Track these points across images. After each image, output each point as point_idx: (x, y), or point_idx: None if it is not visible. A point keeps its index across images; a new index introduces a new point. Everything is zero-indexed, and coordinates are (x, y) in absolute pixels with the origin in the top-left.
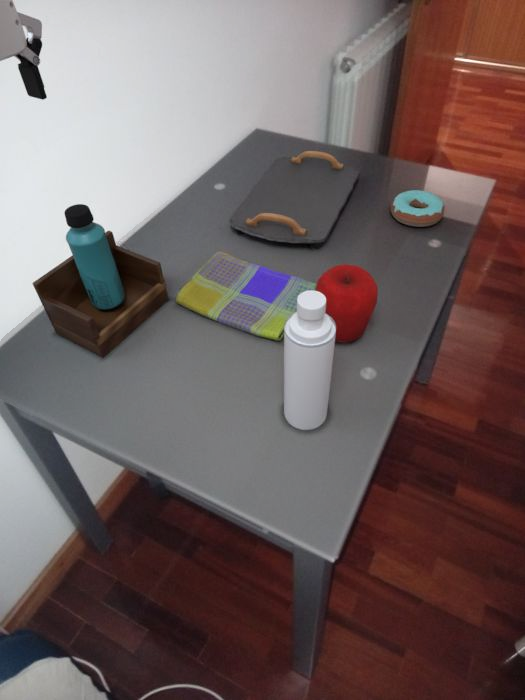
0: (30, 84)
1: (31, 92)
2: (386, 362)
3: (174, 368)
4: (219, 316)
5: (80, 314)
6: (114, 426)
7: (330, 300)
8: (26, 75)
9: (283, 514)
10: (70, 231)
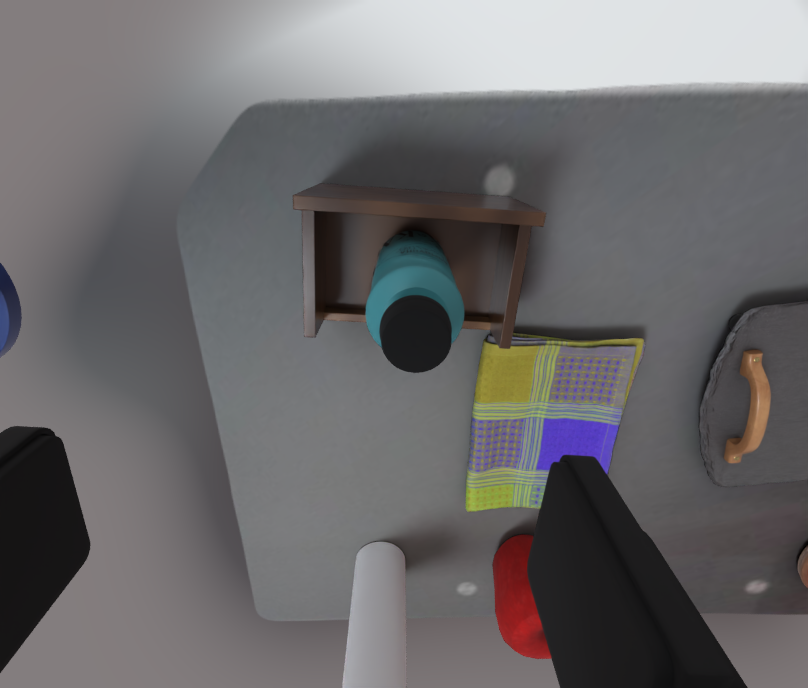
0: (567, 589)
1: (550, 522)
2: (491, 598)
3: (361, 408)
4: (477, 421)
5: (309, 312)
6: (237, 398)
7: (504, 621)
8: (598, 647)
9: (264, 582)
10: (388, 301)
